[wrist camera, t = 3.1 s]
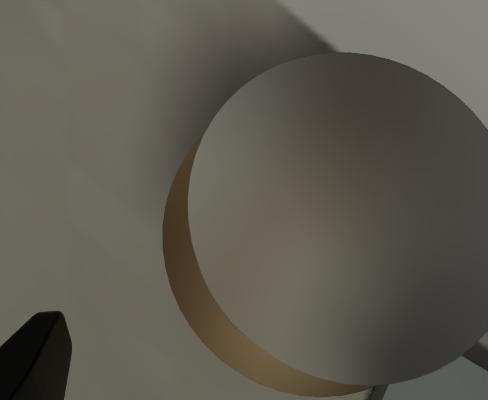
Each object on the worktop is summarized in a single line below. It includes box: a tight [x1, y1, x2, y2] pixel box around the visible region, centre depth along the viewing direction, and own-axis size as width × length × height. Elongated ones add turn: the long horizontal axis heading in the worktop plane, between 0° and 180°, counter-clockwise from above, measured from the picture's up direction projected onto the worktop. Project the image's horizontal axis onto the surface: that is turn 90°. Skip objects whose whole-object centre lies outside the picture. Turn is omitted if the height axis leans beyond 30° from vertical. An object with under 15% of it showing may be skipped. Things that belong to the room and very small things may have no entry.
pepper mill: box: [163, 53, 488, 397], centre depth 11 cm, size 5×5×13 cm
